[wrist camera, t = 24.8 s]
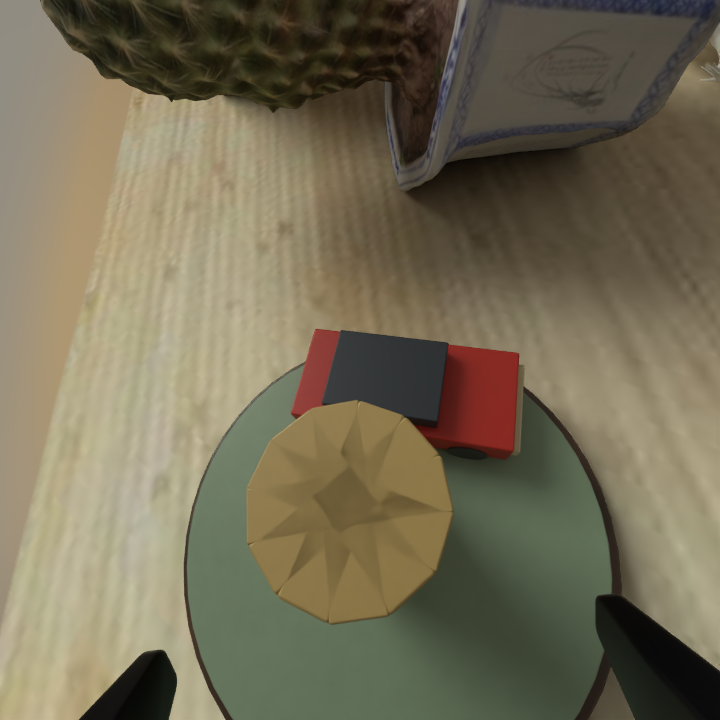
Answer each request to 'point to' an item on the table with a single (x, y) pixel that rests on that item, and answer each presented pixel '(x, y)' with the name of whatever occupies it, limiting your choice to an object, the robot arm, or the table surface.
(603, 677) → the display stand
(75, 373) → the table surface
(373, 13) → the potted plant
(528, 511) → the turntable
